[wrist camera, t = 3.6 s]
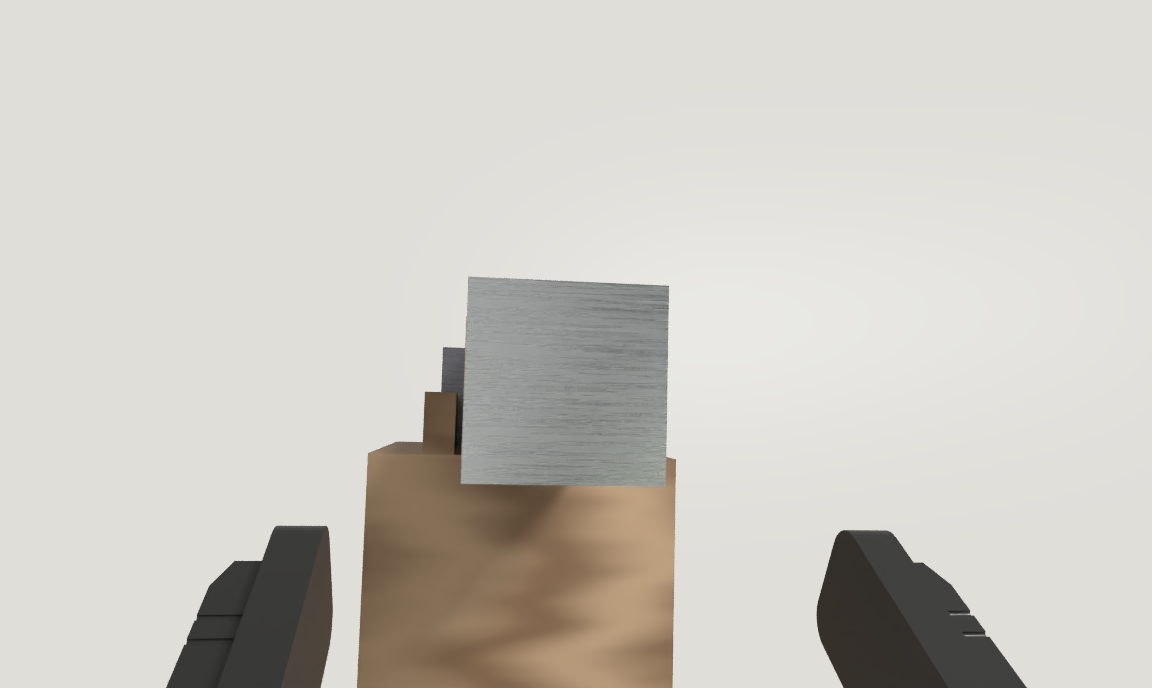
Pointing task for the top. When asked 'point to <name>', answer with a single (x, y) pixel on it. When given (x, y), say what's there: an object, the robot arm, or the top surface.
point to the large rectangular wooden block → (510, 575)
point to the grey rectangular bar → (561, 383)
